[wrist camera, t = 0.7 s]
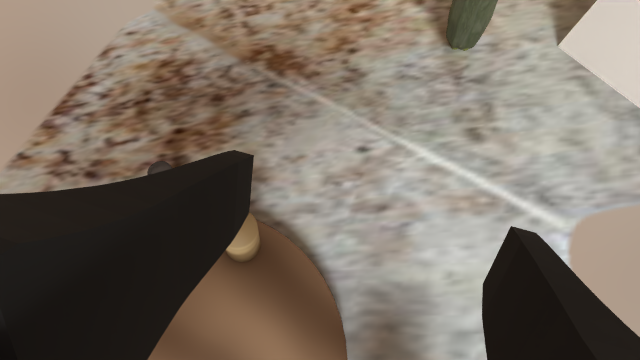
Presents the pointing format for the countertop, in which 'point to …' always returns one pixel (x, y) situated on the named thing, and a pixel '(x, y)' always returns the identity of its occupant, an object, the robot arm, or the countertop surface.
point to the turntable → (257, 306)
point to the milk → (609, 44)
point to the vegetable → (468, 22)
